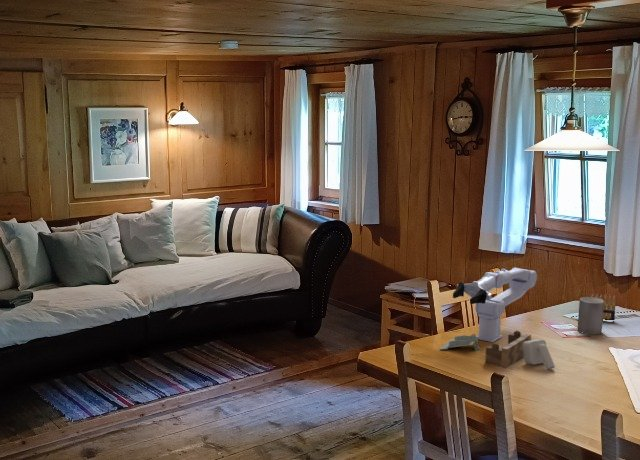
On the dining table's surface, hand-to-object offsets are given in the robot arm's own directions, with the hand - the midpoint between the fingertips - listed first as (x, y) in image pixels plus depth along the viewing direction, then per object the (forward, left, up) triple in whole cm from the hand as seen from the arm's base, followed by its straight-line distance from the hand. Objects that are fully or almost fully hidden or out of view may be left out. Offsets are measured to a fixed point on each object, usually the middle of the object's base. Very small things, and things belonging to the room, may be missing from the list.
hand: (462, 298), depth 286 cm
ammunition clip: (-77, +30, -20) cm, 85 cm away
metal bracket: (-3, -1, -21) cm, 21 cm away
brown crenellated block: (-3, +19, -20) cm, 28 cm away
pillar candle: (-57, +31, -20) cm, 68 cm away
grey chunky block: (-2, +31, -21) cm, 37 cm away
